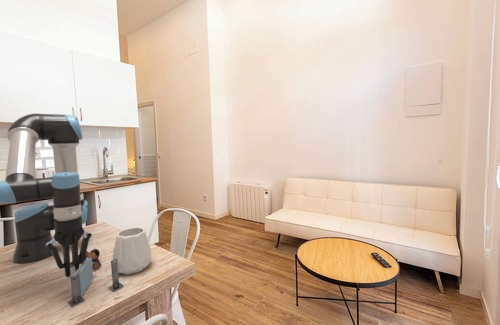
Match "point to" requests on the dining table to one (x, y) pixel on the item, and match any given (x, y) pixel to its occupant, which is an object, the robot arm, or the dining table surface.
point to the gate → (83, 275)
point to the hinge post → (75, 293)
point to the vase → (132, 250)
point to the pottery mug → (94, 258)
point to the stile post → (115, 276)
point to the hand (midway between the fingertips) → (72, 284)
